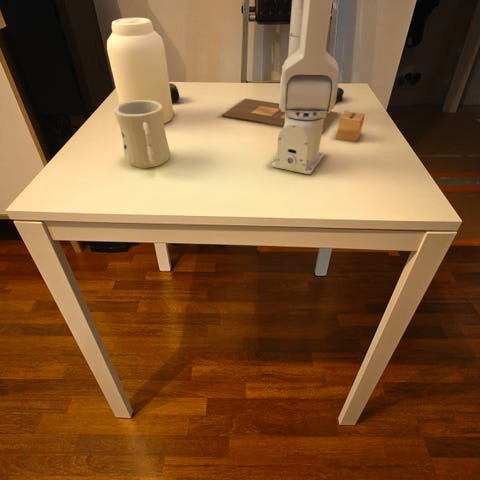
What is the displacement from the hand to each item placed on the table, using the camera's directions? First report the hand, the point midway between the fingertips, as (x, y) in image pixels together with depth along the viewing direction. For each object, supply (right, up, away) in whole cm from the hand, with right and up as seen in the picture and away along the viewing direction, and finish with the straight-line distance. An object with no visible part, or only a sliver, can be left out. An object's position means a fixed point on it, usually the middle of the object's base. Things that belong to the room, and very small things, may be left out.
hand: (296, 102), depth 87 cm
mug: (-32, -20, -14) cm, 40 cm away
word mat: (-4, -1, +4) cm, 5 cm away
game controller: (+11, +8, +13) cm, 19 cm away
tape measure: (-34, +7, +12) cm, 36 cm away
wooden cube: (+11, -11, -6) cm, 17 cm away
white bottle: (-37, -3, +3) cm, 37 cm away
